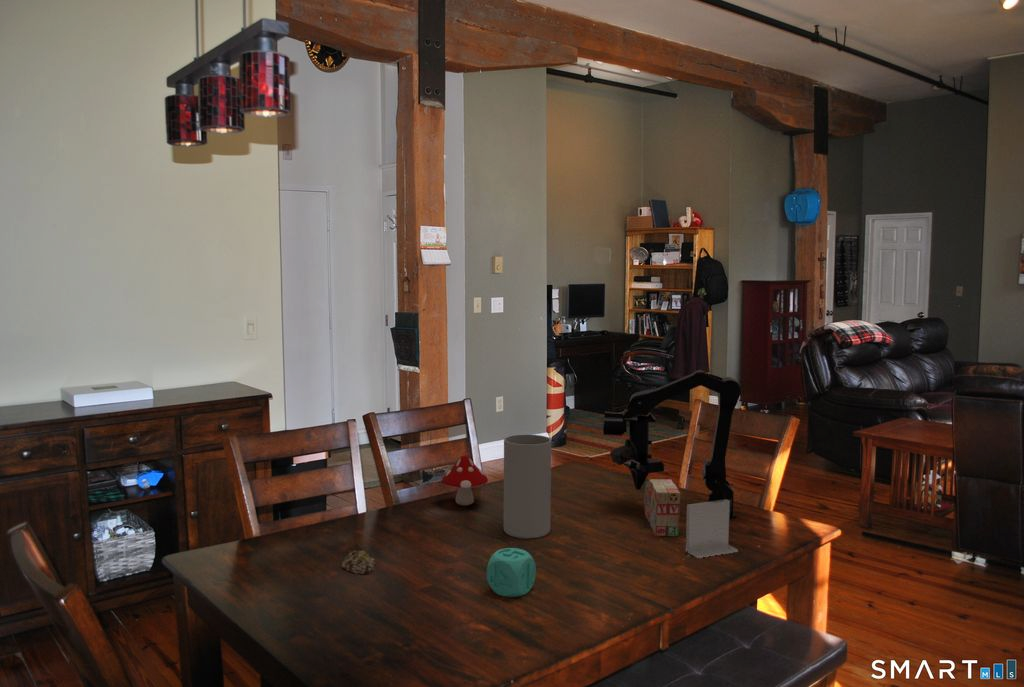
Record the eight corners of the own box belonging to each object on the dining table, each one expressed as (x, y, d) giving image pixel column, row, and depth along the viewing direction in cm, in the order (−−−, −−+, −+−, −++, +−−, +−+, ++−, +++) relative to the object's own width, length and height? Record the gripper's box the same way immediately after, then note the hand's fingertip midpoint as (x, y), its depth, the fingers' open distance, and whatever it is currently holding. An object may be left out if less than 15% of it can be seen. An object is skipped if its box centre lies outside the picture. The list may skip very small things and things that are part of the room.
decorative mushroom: (486, 512, 220) (486, 461, 218) (438, 512, 220) (438, 461, 219) (488, 498, 234) (489, 450, 232) (443, 497, 234) (443, 449, 233)
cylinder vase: (496, 535, 201) (496, 442, 198) (513, 521, 212) (514, 433, 210) (540, 542, 196) (541, 446, 194) (556, 527, 208) (557, 436, 205)
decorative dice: (517, 600, 162) (517, 564, 161) (485, 592, 166) (486, 556, 165) (536, 587, 168) (536, 552, 168) (505, 579, 173) (505, 545, 172)
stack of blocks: (642, 511, 222) (643, 470, 221) (664, 512, 222) (665, 470, 221) (655, 537, 201) (656, 491, 200) (679, 537, 201) (680, 491, 200)
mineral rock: (333, 554, 181) (364, 540, 185) (338, 570, 182) (369, 555, 186) (349, 571, 172) (381, 555, 176) (354, 588, 173) (386, 572, 177)
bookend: (725, 545, 195) (726, 499, 194) (737, 551, 190) (739, 505, 189) (685, 551, 190) (687, 504, 189) (697, 558, 186) (699, 510, 184)
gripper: (598, 432, 226) (598, 483, 227) (631, 445, 209) (630, 501, 210) (631, 429, 230) (630, 480, 231) (666, 442, 213) (665, 497, 214)
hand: (638, 489), depth 222 cm, fingers closed
